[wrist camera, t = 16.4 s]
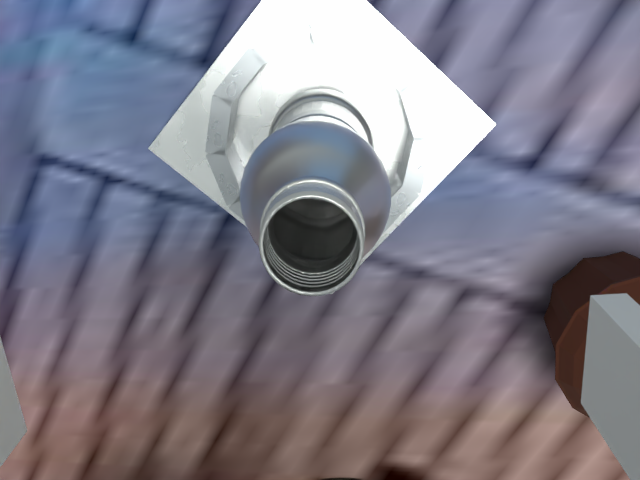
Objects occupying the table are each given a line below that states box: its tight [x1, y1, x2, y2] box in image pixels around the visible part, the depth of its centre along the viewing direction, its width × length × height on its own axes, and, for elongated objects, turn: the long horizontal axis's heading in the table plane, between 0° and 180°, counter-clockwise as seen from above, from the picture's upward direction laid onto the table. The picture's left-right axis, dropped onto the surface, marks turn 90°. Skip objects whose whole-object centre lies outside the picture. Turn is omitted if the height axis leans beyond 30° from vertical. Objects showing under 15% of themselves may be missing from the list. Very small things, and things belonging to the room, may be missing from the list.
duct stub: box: [148, 0, 496, 294], centre depth 38 cm, size 16×16×4 cm
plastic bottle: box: [240, 89, 391, 296], centre depth 29 cm, size 6×7×20 cm
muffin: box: [544, 252, 640, 417], centre depth 39 cm, size 12×11×10 cm
